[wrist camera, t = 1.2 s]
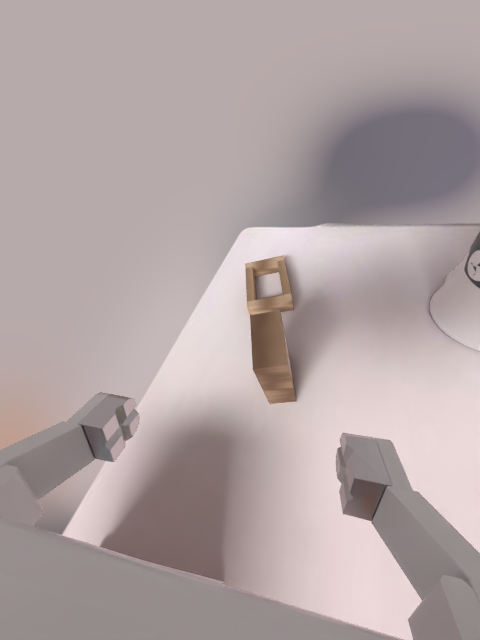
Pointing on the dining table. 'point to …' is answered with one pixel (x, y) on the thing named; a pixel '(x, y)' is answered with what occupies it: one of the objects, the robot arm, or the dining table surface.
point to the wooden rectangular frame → (270, 303)
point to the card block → (271, 357)
